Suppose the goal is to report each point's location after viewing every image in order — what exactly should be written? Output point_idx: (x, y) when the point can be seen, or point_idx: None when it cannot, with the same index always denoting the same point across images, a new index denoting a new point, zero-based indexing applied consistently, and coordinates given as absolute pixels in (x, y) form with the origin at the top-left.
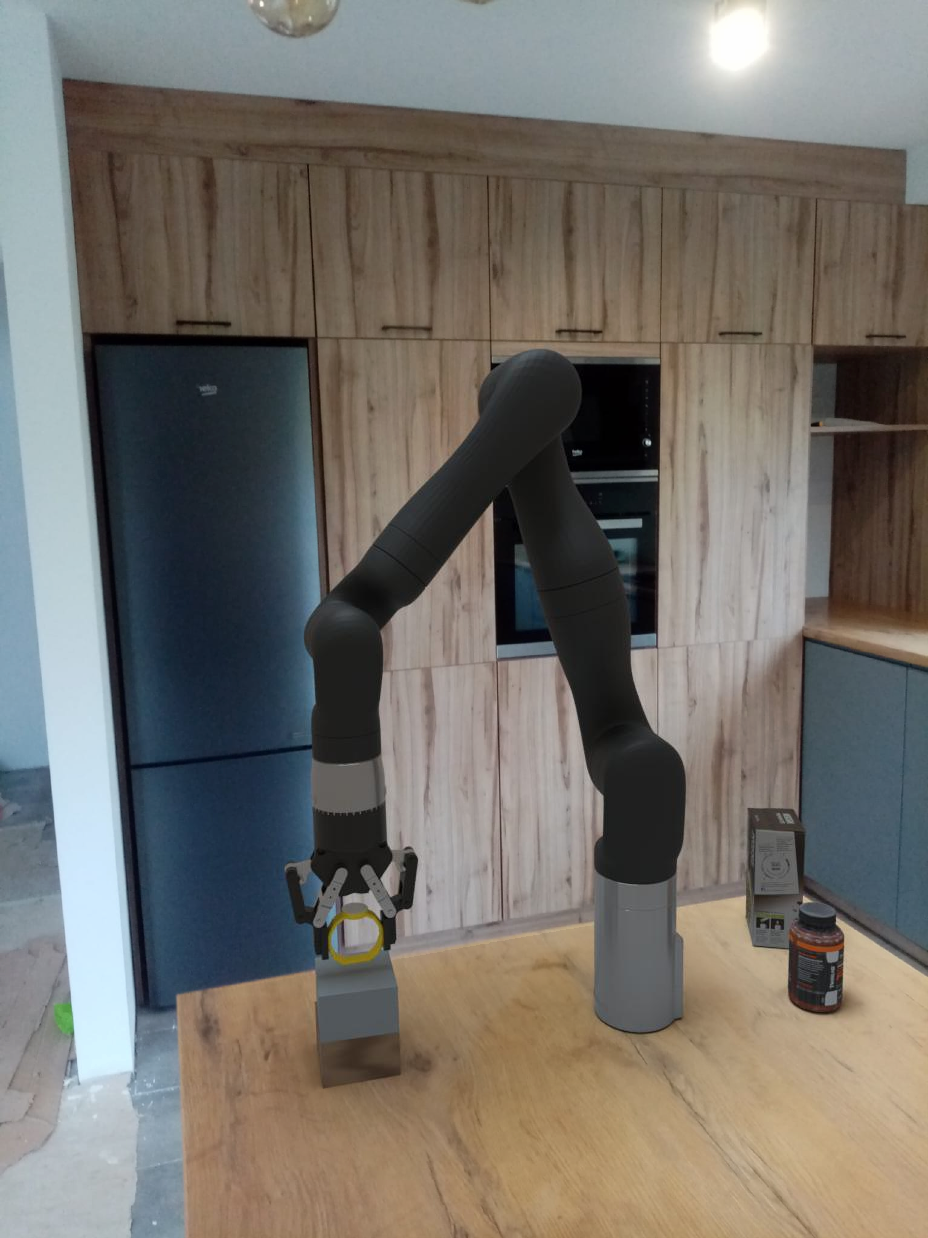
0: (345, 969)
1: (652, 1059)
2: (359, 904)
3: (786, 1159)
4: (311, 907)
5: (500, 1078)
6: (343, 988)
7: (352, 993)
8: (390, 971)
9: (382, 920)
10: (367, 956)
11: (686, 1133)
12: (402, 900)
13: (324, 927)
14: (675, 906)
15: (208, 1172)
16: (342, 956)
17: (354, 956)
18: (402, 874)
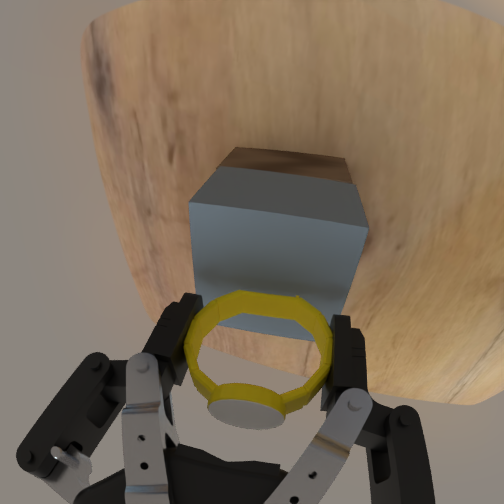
0: (251, 271)
1: None
2: (263, 410)
3: (481, 381)
4: (124, 388)
5: (418, 290)
6: (240, 319)
7: (253, 331)
8: (336, 307)
9: (323, 396)
10: (293, 313)
11: (467, 363)
12: (367, 453)
13: (174, 383)
14: None
15: (145, 291)
16: (238, 296)
17: (265, 302)
18: (384, 502)
